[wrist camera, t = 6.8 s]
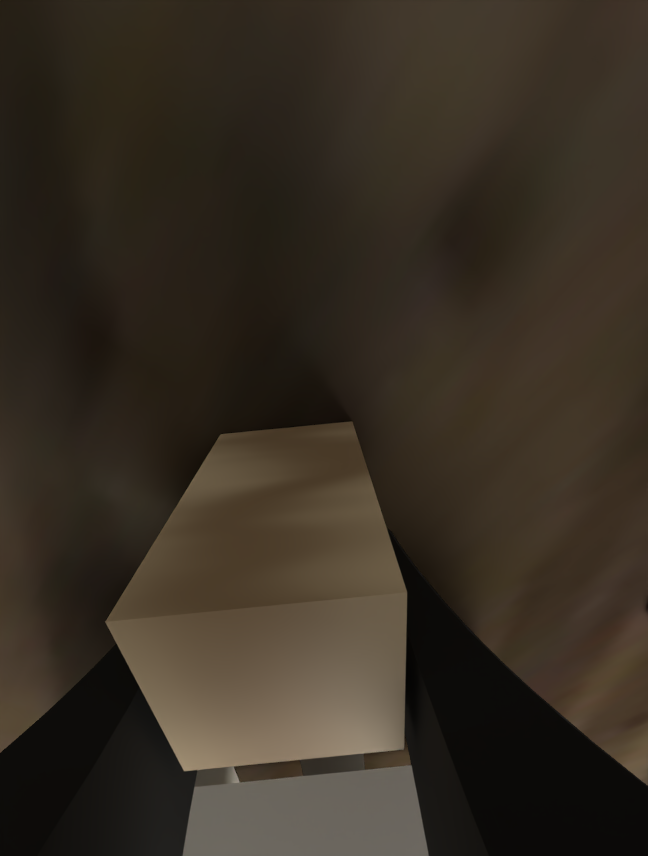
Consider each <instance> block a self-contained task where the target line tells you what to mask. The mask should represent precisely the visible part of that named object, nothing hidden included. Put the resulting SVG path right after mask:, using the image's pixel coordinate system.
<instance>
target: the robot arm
mask: <svg viewBox="0 0 648 856" xmlns="http://www.w3.org/2000/svg"><path fill="white" fill-rule="evenodd" d="M387 531H388V534H389V537H390V540H391V543H392V546H393V550H394V553H395V556H396V559H397V562H398V565H399V568H400V571H401V575H402V578H403V581H404V584H405V587H406V590H407V627H406V677H405V728H404V731H405V735H406V740H407V745H408V750H409V755H410V760H411V765H412V771H413V776H414V781H415V786H416V791H417V796H418V801H419V807H420V812H421V817H422V822H423V828H424V833H425V838H426V843H427V849H428V854H429V856H648V786H647V785H646V784H645V783H643V782H642V781H641V780H640V779H638V778H637V777H636V776H635V775H633V774H632V773H631V772H630V771H628V770H627V769H626V768H625V767H623V766H622V765H621V764H620V763H618V762H617V761H616V760H615V759H614V758H612V757H611V756H610V755H609V754H607V753H606V752H605V751H604V750H602V749H601V748H600V747H599V746H597V745H596V744H595V743H594V742H592V741H591V740H590V739H589V738H588V737H587V736H585V735H584V734H583V733H582V732H581V731H580V730H578V729H577V728H576V727H575V726H574V725H573V724H571V723H570V722H569V721H568V720H567V719H566V718H564V717H563V716H562V715H561V714H560V713H559V712H557V711H556V710H555V709H554V708H553V707H552V706H550V705H549V704H548V703H547V702H546V701H545V700H543V699H542V698H541V697H540V696H539V695H538V694H536V693H535V692H534V691H533V690H532V689H531V688H530V687H529V686H528V685H526V684H525V683H524V682H523V681H522V680H521V679H520V678H519V677H518V676H517V675H516V674H515V673H514V672H513V671H511V670H510V669H509V668H508V667H507V666H506V665H505V664H504V663H503V662H502V661H501V660H500V659H499V658H498V657H497V656H496V655H495V654H494V653H493V652H492V651H491V650H490V649H489V648H488V647H487V646H486V645H485V644H484V643H483V642H482V641H481V640H480V639H479V638H478V637H477V636H476V635H475V634H474V633H473V632H472V631H471V630H470V629H469V628H468V627H467V626H466V625H465V624H464V623H463V622H462V620H461V619H460V618H459V617H458V616H457V615H456V614H455V613H454V612H453V611H452V609H451V608H450V607H449V606H448V605H447V604H446V603H445V602H444V600H443V599H442V598H441V597H440V596H439V595H438V593H437V592H436V591H435V590H434V589H433V587H432V586H431V585H430V584H429V582H428V581H427V580H426V579H425V578H424V576H423V575H422V574H421V573H420V571H419V570H418V569H417V567H416V566H415V565H414V563H413V562H412V561H411V559H410V558H409V557H408V555H407V554H406V553H405V551H404V550H403V548H402V547H401V546H400V544H399V543H398V541H397V540H396V538H395V536H394V535H393V533H392V532H391V531H390V530H389V529H388V528H387ZM196 776H197V770H192V771H184V770H183V768H182V766H181V764H180V763H179V761H178V759H177V757H176V755H175V753H174V751H173V749H172V747H171V745H170V744H169V742H168V740H167V738H166V736H165V734H164V732H163V730H162V728H161V727H160V725H159V723H158V721H157V719H156V717H155V715H154V713H153V711H152V710H151V708H150V706H149V704H148V702H147V700H146V698H145V696H144V694H143V692H142V691H141V689H140V687H139V685H138V683H137V681H136V679H135V677H134V675H133V674H132V672H131V670H130V668H129V666H128V664H127V662H126V660H125V658H124V656H123V655H122V653H121V651H120V649H119V647H118V645H117V644H116V645H115V646H114V647H113V648H112V649H111V650H110V651H109V652H108V653H107V654H106V655H105V656H104V657H103V658H102V659H101V660H100V661H99V662H98V663H97V664H96V666H95V667H94V668H92V669H91V670H90V671H89V672H88V673H87V674H86V675H85V676H84V677H83V678H82V679H81V680H80V681H79V682H78V683H77V684H76V685H75V686H74V687H73V688H72V689H71V690H70V691H69V692H68V693H67V694H66V695H65V696H64V697H62V698H61V699H60V700H59V701H58V702H57V703H56V704H55V705H54V706H53V707H52V708H51V709H50V710H49V711H47V712H46V713H45V714H44V715H43V716H42V717H41V718H40V719H39V720H37V721H36V722H35V723H34V724H33V725H32V726H31V727H29V728H28V729H27V730H26V731H25V732H24V733H23V734H22V735H20V736H19V737H18V738H17V739H16V740H15V741H14V742H12V743H11V744H10V745H9V746H8V747H7V748H6V749H4V750H3V751H2V752H1V753H0V856H183V850H184V844H185V838H186V832H187V826H188V820H189V814H190V809H191V803H192V798H193V792H194V787H195V781H196Z"/></svg>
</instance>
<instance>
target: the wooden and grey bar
mask: <svg viewBox="0 0 648 856" xmlns="http://www.w3.org/2000/svg"><path fill="white" fill-rule="evenodd" d="M105 622H106V624H107V626H108V628H109V630H110V632H111V634H112V636H113V638H114V639H115V641H116V643H117V645H118V647H119V649H120V651H121V653H122V655H123V656H124V658H125V660H126V662H127V664H128V666H129V668H130V670H131V672H132V674H133V675H134V677H135V679H136V681H137V683H138V685H139V687H140V689H141V691H142V692H143V694H144V696H145V698H146V700H147V702H148V704H149V706H150V708H151V710H152V711H153V713H154V715H155V717H156V719H157V721H158V723H159V725H160V727H161V728H162V730H163V732H164V734H165V736H166V738H167V740H168V742H169V744H170V745H171V747H172V749H173V751H174V753H175V755H176V757H177V759H178V761H179V763H180V764H181V766H182V768H183V770H184V771H192V770H202V769H212V768H222V767H232V766H242V765H252V764H262V763H272V762H282V761H292V760H300V763H301V767H302V772H303V776H310V775H320V774H330V773H340V772H350V771H360V770H365V768H364V755H363V753H373V752H383V751H393V750H403V749H404V728H405V677H406V627H407V590H406V587H405V584H404V581H403V578H402V575H401V571H400V568H399V565H398V562H397V559H396V556H395V553H394V550H393V546H392V543H391V540H390V537H389V534H388V531H387V528H386V525H385V522H384V518H383V515H382V512H381V509H380V506H379V503H378V500H377V497H376V494H375V490H374V487H373V484H372V481H371V478H370V475H369V472H368V469H367V465H366V462H365V459H364V456H363V453H362V450H361V447H360V444H359V441H358V437H357V434H356V431H355V428H354V425H353V422H352V421H351V422H340V423H330V424H320V425H309V426H299V427H289V428H279V429H268V430H258V431H248V432H237V433H227V434H220V436H219V438H218V439H217V441H216V442H215V444H214V446H213V447H212V449H211V451H210V452H209V454H208V455H207V457H206V459H205V460H204V462H203V464H202V465H201V467H200V468H199V470H198V472H197V473H196V475H195V477H194V478H193V480H192V481H191V483H190V485H189V486H188V488H187V490H186V491H185V493H184V495H183V496H182V498H181V499H180V501H179V503H178V504H177V506H176V508H175V509H174V511H173V512H172V514H171V516H170V517H169V519H168V521H167V522H166V524H165V525H164V527H163V529H162V530H161V532H160V534H159V535H158V537H157V538H156V540H155V542H154V543H153V545H152V547H151V548H150V550H149V551H148V553H147V555H146V556H145V558H144V560H143V561H142V563H141V565H140V566H139V568H138V569H137V571H136V573H135V574H134V576H133V578H132V579H131V581H130V582H129V584H128V586H127V587H126V589H125V591H124V592H123V594H122V595H121V597H120V599H119V600H118V602H117V604H116V605H115V607H114V608H113V610H112V612H111V613H110V615H109V617H108V618H107V620H106V621H105Z"/></svg>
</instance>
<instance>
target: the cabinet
mask: <svg viewBox="0 0 648 856" xmlns="http://www.w3.org/2000/svg"><path fill="white" fill-rule="evenodd" d="M183 856H429V854H428V849H427V843H426V838H425V833H424V828H423V822H422V817H421V812H420V807H419V801H418V796H417V791H416V786H415V781H414V776H413V771H412V765H410V766H400V767H390V768H380V769H370V770H360V771H350V772H340V773H330V774H320V775H310V776H300V777H290V778H280V779H271V780H261V781H251V782H241V783H240V781H239V779H238V776H237V774H236V771H235V769H234V766H232V767H222V768H212V769H202V770H197V776H196V781H195V787H194V792H193V798H192V803H191V809H190V814H189V820H188V826H187V832H186V838H185V844H184V850H183Z"/></svg>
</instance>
